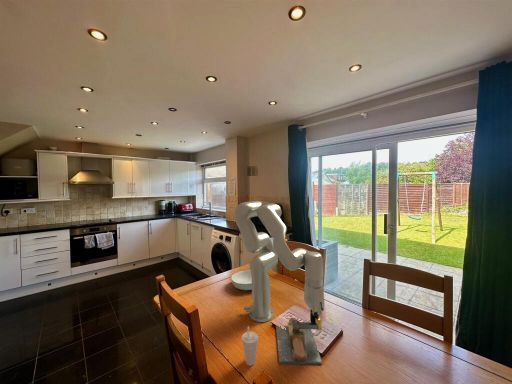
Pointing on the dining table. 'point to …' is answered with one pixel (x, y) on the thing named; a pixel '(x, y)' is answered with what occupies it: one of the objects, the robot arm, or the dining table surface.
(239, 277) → the serving bowl
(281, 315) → the dining table surface
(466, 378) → the dining table surface
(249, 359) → the smoothie
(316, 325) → the lever
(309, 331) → the valve body
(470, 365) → the dining table surface
